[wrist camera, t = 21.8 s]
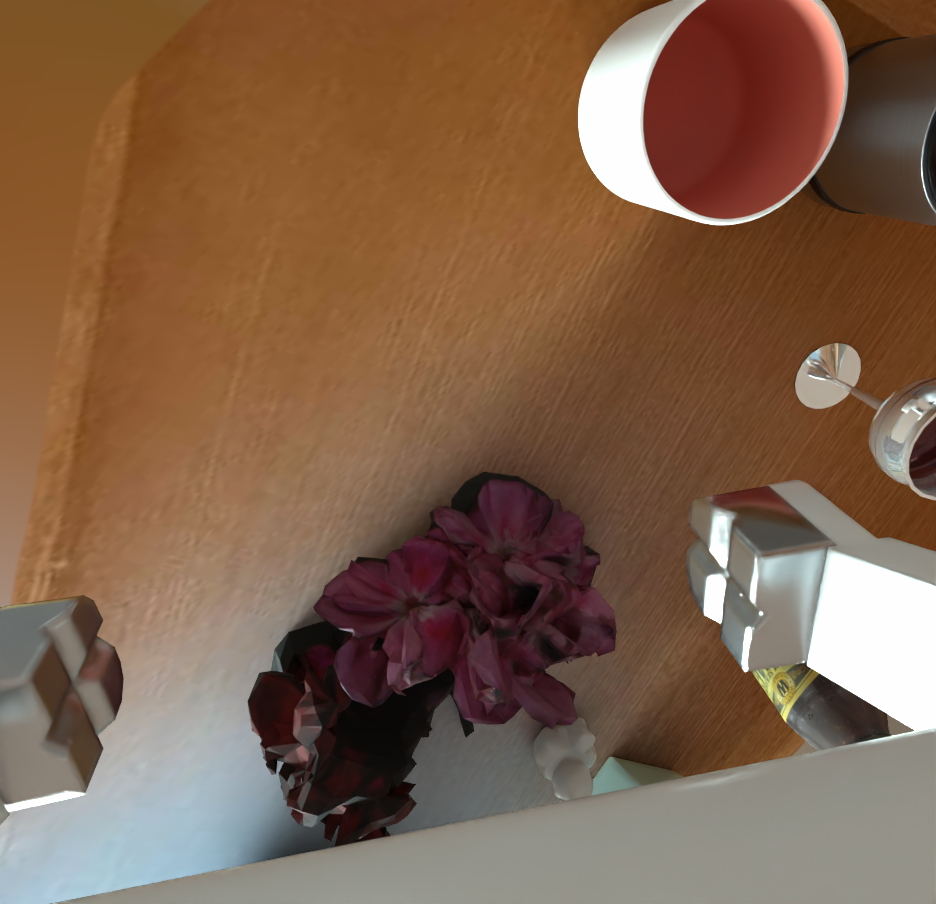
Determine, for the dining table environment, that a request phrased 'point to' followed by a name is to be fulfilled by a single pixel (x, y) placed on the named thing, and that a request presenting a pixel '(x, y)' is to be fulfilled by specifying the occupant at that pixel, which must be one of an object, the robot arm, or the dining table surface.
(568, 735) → the grey figurine
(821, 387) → the wineglass
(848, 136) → the canister
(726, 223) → the cup
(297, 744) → the flower arrangement
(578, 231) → the dining table surface
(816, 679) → the sauce bottle
